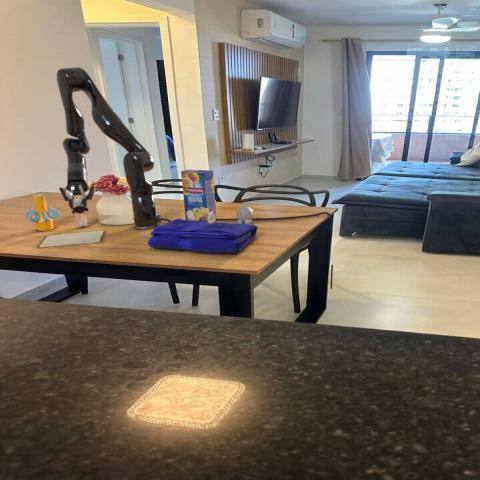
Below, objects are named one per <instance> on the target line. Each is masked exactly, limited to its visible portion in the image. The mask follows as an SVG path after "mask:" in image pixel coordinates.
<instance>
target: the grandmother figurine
mask: <svg viewBox="0 0 480 480" xmlns="http://www.w3.org/2000/svg"><path fill="white" fill-rule="evenodd" d="M73 202H74V205H75V206H74V209H71V213H70V217H74V215H75V219H76V220H75V221H76V225H77V226H76V228H77V229H80V228H82V227H83V228H85V227H86V228H87V227H88V226H89V224H87V222H88V221H87V216H86V212H87V214H91V213H92V212H91V211H90V209H89V208H88V206H87V207H86V208H83V204H82V198H78V197H77V198H74V200H73Z"/></svg>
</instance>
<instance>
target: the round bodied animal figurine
mask: <svg viewBox="0 0 480 480" xmlns="http://www.w3.org/2000/svg"><path fill="white" fill-rule="evenodd" d="M236 216H237V219H238V220H236V221H237V222H236V223H239V224H251V225H252V224H253V220H252V219H251V218H253V216H254V207H253V206H251V207H250V206H248V205H245V206H241V207H239V208H238V209H237V211H236Z"/></svg>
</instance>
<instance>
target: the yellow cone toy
mask: <svg viewBox="0 0 480 480" xmlns="http://www.w3.org/2000/svg"><path fill="white" fill-rule="evenodd" d="M32 199H33V205H34V208H35V211H34V210H27V211H26V212H25V213H24V214H25V218H26V219H27V220H29V221H30V222H32V223H35V225H36V230H37V231H39V232H47V231H51V230H53V229H55V226H54V225H55V224H54V220H56V219H58V218H59V217H60V212H59V210H57V209H54V207H48V205H47V201H46V196H45V194H44V193H43V194H42V193H37V194H33V195H32ZM51 212H52V214H51ZM33 215H34V217H33ZM53 219H54V220H53Z"/></svg>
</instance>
